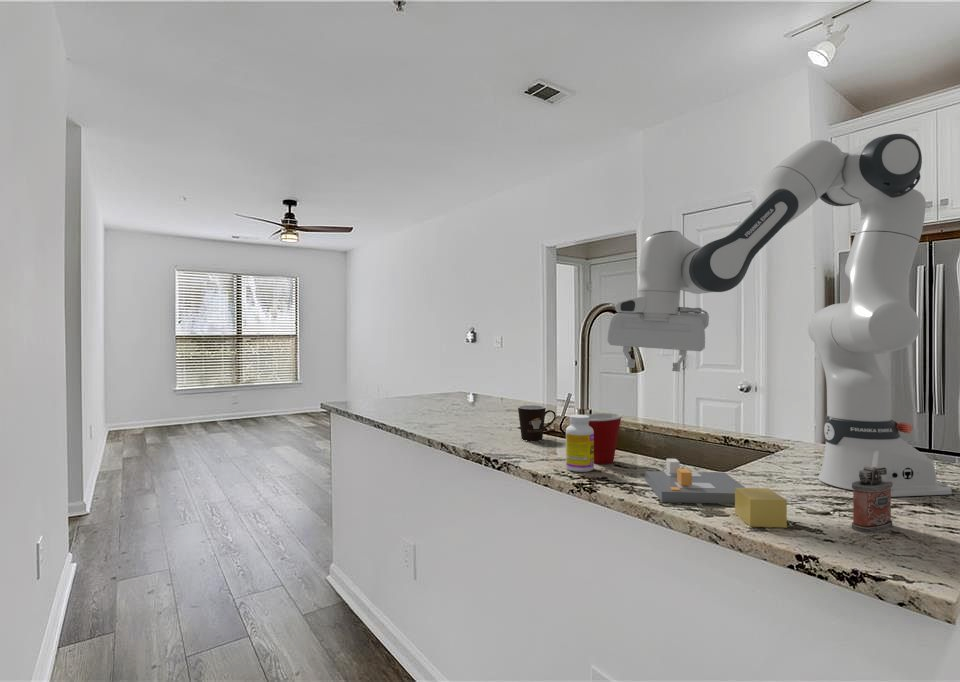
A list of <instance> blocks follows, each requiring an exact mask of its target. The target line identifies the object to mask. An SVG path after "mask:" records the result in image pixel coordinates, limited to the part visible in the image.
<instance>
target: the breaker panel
mask: <svg viewBox="0 0 960 682" xmlns="http://www.w3.org/2000/svg"><path fill="white" fill-rule="evenodd" d="M691 472H692V485H681V484H680V483H679V482H678V481H677V474H670V473H669V472H668V471H667V470H666V471H665V470H663V471H660V470H659V471H653V470H652V471H651V470H650V471H649V470H645V471H644V480H645V482H646V483H647V485H648V486H649V487H650V488H651V490H652V491H653V493H654V494H655V495H656V497H657V498H658V499H659V500H660V501H661V503H683V504H684V503H687V504H688V503H689V504H724V505H725V504H727V505H728V504H730V505H731V504H732V505H733V504H734V505H735V488H746V486H744V485H743V484H741V483H740V482H738V481H737V480H735V479H734V478H733V477H731V476H730V475H729V474H727V473H726V472H710V471H709V472H707V471H706V472H705V471H691Z"/></svg>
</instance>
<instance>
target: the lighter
mask: <svg viewBox="0 0 960 682" xmlns="http://www.w3.org/2000/svg"><path fill="white" fill-rule="evenodd" d="M882 475H887V468H885V467H883V466H878V467H873V468H871V467H864V469H863V470H861V471H859V477H860V481H856V482H854V483H852V489H853V490H852V491H853V492H852V493H853V494H852V495H853V496H852V497H853V500H852V501H853V503H852V504H853V508H852V509H853V510H852V511H853V512H852V514H853V515H852V518H853V519H852V521H851V529H852V530H853V531H856V532H858V533H863V534H874V533H879V532H880V533H881V532H884V531H888V530H889V529H892V528H893V520H892V513H891V511H892V497H891V487H892V481H889V480H885V479H882V477H881V476H882Z"/></svg>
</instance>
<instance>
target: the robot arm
mask: <svg viewBox="0 0 960 682" xmlns="http://www.w3.org/2000/svg"><path fill="white" fill-rule="evenodd" d="M922 164H923V156H922V150H921V148H920V145H919V144H918V142H917V141H916V140H915V138H913V137H912V136H909V135H908V134H903V133H892V134H886V135H885V134H884V135H881V136H879V137H876V138H874V139H872V140H871V141H869V142H867V143H866V142H865V143H864V144H861V145H859V146H857V147H855V148H853V149H851V150H849V151H848V152H843V151H842V149H841V148H839V146H838V145H836V144H835V143H834V142H831V141H828V140H824V139H817V140H813V141H810V142H808V143H806V144H804V145H803V146H801V147H800V148H798V149H797V150H796V151H794V152H792V153H791V154H789V155H788V156H787V157H786V158H785V159H784V160H782V161H781V162H780V163H778V164H777V165H776V166H775V167H774V168H773V169H772V170H770V172H769V173H768V174H767V175H766V176H765V177H764V178H763V179H762V180H761V181H760V183H759V184H758V185H757V186H756V187H755V189H754V191H752V193H751V206H752V209H753V210H752V211H751V212H750V214H748V215H747V216H746V217H745V218H744V219H743V220H742V221H741V222H740V223H739V224H737V226H736V227H735V228H734V229H733V230H732V231H731V232H730V233H729V234H727V235H725V236H724V237H722V238H719V239H716V240H712V241H710V242H709V243H707V244H705V245H703V246H700V245H698V244H696V243H695V242H692V241H691V240H689V239H688V238H686V237H685V236H684V235H683V234H682V233H681V232H680V231H678V230H663V231H659V232H655V233H653V234H650V235H648V237H647V238H646V239H644V241H643V242H642V243H643V244H642V246H641V252H640V258H639V267H638V274H639V280H640V281H639V285H638V289H637V294H636V295H637V296H636V297H633V298H628V299H626V300H621V301H617V302H616V303H615V305H614V306H615V307H614V309H615V311H616V313H614V314H613V315H612V316H611V319H610V320H609V327H608V332H607V339H606V340H607V343H608V344H609V345H610V346H616V347H617V346H618V347H619V346H620V347H622V348H623V349H622V352H623V354H624V357H625V358H626V360H627V363H626V367H627V368H633V369H635V368H636V367H635V366H636V364H635V363H636V359H633V358H632V357H631V355H630V352H631V351H632V350H631V349H632V348H645V349H660V350H661V349H663V350H677V351H679V356H681V357H680V358H679V360H678V361H677V362H672V369H671V371H672V372H680V371H681V364H682V363H683V361H684V360H685V358H686V357H687V352H688V351H689V352H691V351H692V352H702V351H704V349H706V331H705V329H707V327H708V326H709V322H710V315H709V313H708V312H707V311H706V310H704V309H702V307H685V306H680V301H681V291H683V292H688V293H691V294H694V295H696V294H697V295H701V294H702V295H703V294H708V293H709V294H710V293H723V292H728V291H730V290H732V289H734V288H735V287H737V286H738V285H739V284H740V283H741V282H742V281H743V280H744V277H745V276H746V274H747V272H748V269H749V267H750V266H751V265H750V264H751V263H752V260H754V258H755V256H756V255H757V254H758V253H759V252H760V251H761V250H762V249H763V247H764V246H766V244H768V243H769V241H770V240H771V239H772V238H774V236H776V235H777V233H778V232H779V231H780V230H781V229H782V228H783V227H784V226H786V225H787V224H789V223H791V222H792V221H794V220H795V219H797V218H798V217H799V216H801V215H802V214H803V213H804V212H806V211H807V210H808V209H809V208H811V207H812V206H813V204H815V203H816V202H817V200H819V199H820V200H821V201H822V202H824V203H825V204H828V205H829V206H833V207H848V206H852V205H854V204H857V203H858V204H859V208H860V221H859V224H858V226H857V228H856V231H855V234H854V237H853V241H852V243H851V246H850V247H851V248H850V250H849V254H848V257H847V260H846V262H845V263H846V264H845V266H844V273H845V276H846V277H847V278H848V279H849V298H848V301H847V302H840V303H834V304H833V303H832V304H831V305H827V306H826V307H823V308H821V309H819V310H818V311H816V312H815V313H814V314H813V315H812V316H811V317H810V319H809V322H808V325H807V331H808V336H809V338H810V339H811V341H812V342H813V343H814V344H815V346H816V347H817V350H818V353H819V356H820V357H819V358H820V360H821V363H822V366H823V371H824V376H825V381H826V382H825V383H826V415H824V430H823V431H824V434H823V435H824V441H825V446H824V447H825V448H824V455H823V460H822V463H821V467H820V471H819V474H818V476H817V479H818V480H819V481H820V482H823V483H824V484H827V485H829V486H833V487H836V488H841V489H845V490H850V491H853V489H852V483H854V482H856V481H860V477H859V471H861V470H863V469H864V467H871V468H873V467H878V466H883V467H885V468H887V475H882V476H881V477H882V479H885V480H889V481H892V487H891V498H892V497H916V496H919V497H920V496H943V495H946V496H947V495H952V494H953V489H952V488H951V487H950V486H948V485H947V484H945V483H943V482H941V481H938V480H937V473H936V469H935V466H934V463H933V461H932V460H931V459H930V458H929V457H928V456H926V455H925V454H924V453H922V452H921V451H919V450H918V449H916V448H915V447H914V446H913V445H912V444H911V445H910V444H909V443H908V442H906V441H905V440H904V439H903V438H901V433H904V434H911V433H912V432H913V430H914V428H913V426H912V424H910V423H907V422H903V421H902V422H899V423H898V422H897V421H895V420H893V419H892V385H891V382H890V380H889V378H888V377H887V376H886V375H885V374H884V373H883V371H882V369H881V367H880V365H879V362H878V360H877V357H876V355H882V354H888V353H892V352H896V351H899V350H900V351H901V350H904V349H905V348H908V347H910V345H912V344H913V343H914V342H915V340H916V339H917V338H918V336H919V334H920V328H921V326H920V325H921V323H920V318H919V316H918V314H917V313H916V311H915V310H914V309H913V307H912V306H911V304H910V301H909V300H910V299H909V278H910V273H911V270H912V267H913V263H914V259H915V257H916V253H917V250H918V247H919V243H920V240H921V236H922V233H923V232H922V231H923V228H924V225H925V224H924V222H925V216H926V204H927V203H926V197H925V196H924V194H923V193H922V192H921V191H919V190H917V189H915V187H916V185H918V183H919V182H920V180H921V173H920V172H921V170H922Z"/></svg>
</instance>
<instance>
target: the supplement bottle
mask: <svg viewBox="0 0 960 682" xmlns="http://www.w3.org/2000/svg"><path fill="white" fill-rule="evenodd" d="M587 415H588V414H571V415H570V416H569V423H570V424H569V425H568V426H567V427H566V429H565V468H566V469H567V470H569V471H571V472H575V473H588V472H592V471H593V470H594V469H595V463H594V431H593V428H592V427H590V426H589V421H590V417H589V416H587Z"/></svg>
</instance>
